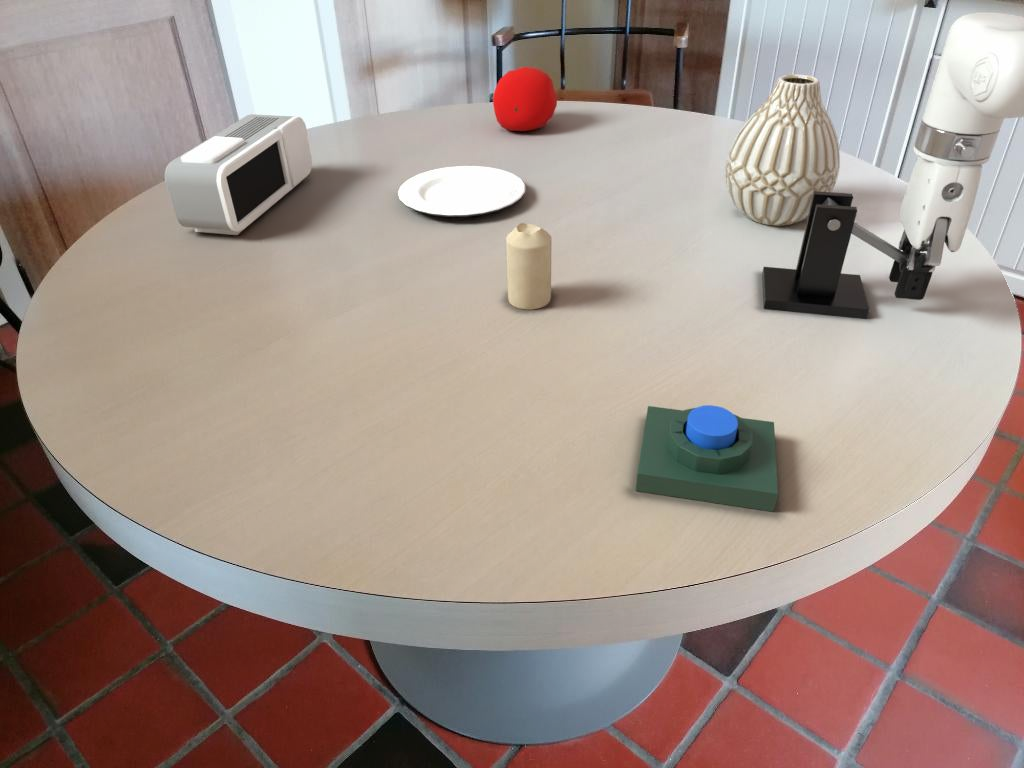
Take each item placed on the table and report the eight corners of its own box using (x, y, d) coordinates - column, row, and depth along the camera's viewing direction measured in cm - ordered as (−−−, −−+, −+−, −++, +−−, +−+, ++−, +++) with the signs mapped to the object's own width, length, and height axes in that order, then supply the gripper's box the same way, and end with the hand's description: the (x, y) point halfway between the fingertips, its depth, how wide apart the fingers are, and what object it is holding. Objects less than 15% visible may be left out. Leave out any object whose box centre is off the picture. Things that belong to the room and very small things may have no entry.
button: (735, 423, 70) (738, 408, 69) (735, 454, 66) (738, 438, 65) (687, 417, 71) (689, 402, 70) (684, 447, 67) (686, 432, 66)
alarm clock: (237, 243, 112) (217, 165, 105) (181, 239, 113) (158, 161, 106) (315, 177, 133) (303, 108, 126) (267, 173, 135) (252, 105, 128)
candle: (558, 295, 97) (560, 223, 91) (536, 314, 93) (536, 240, 87) (522, 285, 100) (521, 214, 94) (499, 303, 96) (497, 230, 90)
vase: (850, 221, 113) (886, 83, 101) (771, 246, 107) (800, 101, 95) (772, 187, 125) (797, 59, 113) (697, 208, 119) (715, 74, 107)
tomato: (519, 154, 149) (546, 136, 159) (553, 103, 140) (579, 86, 150) (470, 112, 149) (500, 96, 159) (501, 58, 140) (530, 45, 150)
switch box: (769, 439, 73) (777, 406, 71) (773, 512, 66) (782, 478, 63) (646, 422, 76) (649, 391, 73) (635, 491, 68) (638, 458, 66)
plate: (533, 177, 130) (533, 167, 129) (516, 228, 114) (515, 216, 113) (416, 173, 133) (415, 163, 132) (383, 222, 117) (381, 211, 116)
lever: (912, 275, 93) (932, 256, 91) (917, 288, 90) (938, 268, 88) (811, 214, 91) (829, 192, 89) (813, 224, 89) (832, 203, 87)
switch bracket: (857, 283, 98) (884, 189, 90) (866, 318, 91) (896, 219, 83) (761, 275, 100) (780, 182, 93) (763, 308, 93) (783, 211, 86)
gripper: (1015, 170, 74) (953, 328, 85) (973, 119, 87) (924, 261, 98) (933, 166, 76) (883, 321, 87) (903, 115, 88) (863, 256, 99)
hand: (905, 288), depth 92 cm, fingers closed on lever, 3 cm apart
